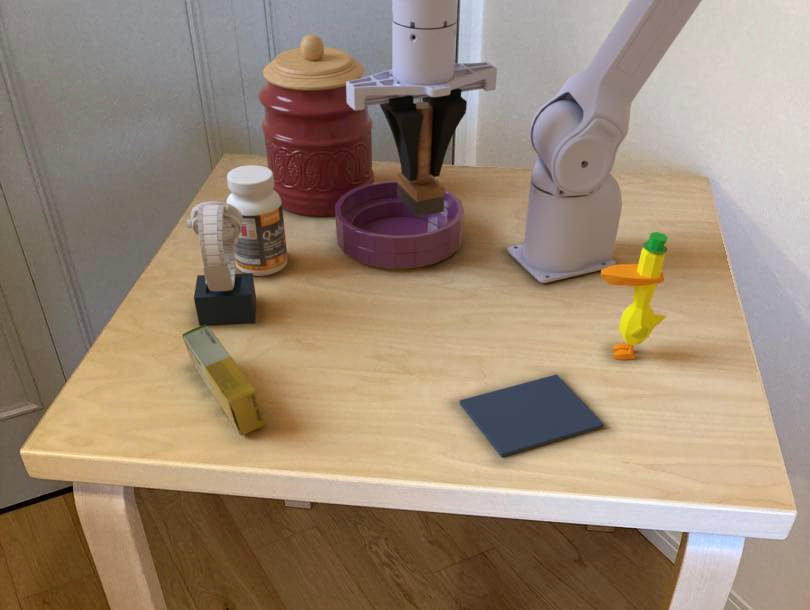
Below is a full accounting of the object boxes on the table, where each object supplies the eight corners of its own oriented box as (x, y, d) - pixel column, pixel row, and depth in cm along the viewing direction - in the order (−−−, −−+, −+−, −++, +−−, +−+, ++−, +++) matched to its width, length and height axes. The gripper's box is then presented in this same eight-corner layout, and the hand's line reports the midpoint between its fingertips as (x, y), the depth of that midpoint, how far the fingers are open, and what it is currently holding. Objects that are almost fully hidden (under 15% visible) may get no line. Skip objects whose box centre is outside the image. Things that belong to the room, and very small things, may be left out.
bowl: (429, 205, 102) (430, 172, 99) (482, 257, 93) (485, 223, 90) (320, 226, 98) (317, 192, 95) (364, 283, 89) (363, 248, 86)
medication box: (192, 368, 79) (179, 332, 76) (219, 358, 79) (207, 321, 76) (239, 437, 71) (227, 400, 68) (268, 425, 72) (258, 388, 69)
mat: (556, 377, 78) (556, 373, 77) (603, 427, 73) (604, 424, 72) (459, 403, 75) (459, 400, 75) (501, 457, 70) (501, 453, 70)
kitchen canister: (248, 200, 103) (226, 39, 90) (314, 164, 110) (303, 10, 98) (331, 228, 98) (320, 62, 85) (395, 189, 105) (394, 30, 92)
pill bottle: (279, 280, 90) (268, 188, 82) (228, 275, 90) (213, 183, 83) (294, 255, 94) (285, 165, 86) (245, 250, 94) (232, 160, 87)
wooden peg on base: (422, 191, 88) (425, 94, 81) (443, 211, 85) (448, 112, 78) (396, 196, 87) (397, 98, 80) (416, 217, 84) (419, 116, 77)
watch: (257, 290, 88) (242, 187, 80) (254, 333, 83) (238, 226, 75) (203, 293, 88) (183, 189, 80) (197, 335, 82) (175, 228, 74)
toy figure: (588, 363, 79) (611, 243, 71) (584, 342, 82) (606, 223, 73) (659, 366, 79) (691, 246, 70) (654, 344, 81) (684, 226, 73)
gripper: (365, 42, 69) (368, 203, 79) (518, 23, 73) (503, 178, 83) (335, 19, 74) (341, 174, 83) (481, 2, 78) (470, 152, 88)
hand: (420, 174), depth 84 cm, fingers closed on wooden peg on base, 2 cm apart
